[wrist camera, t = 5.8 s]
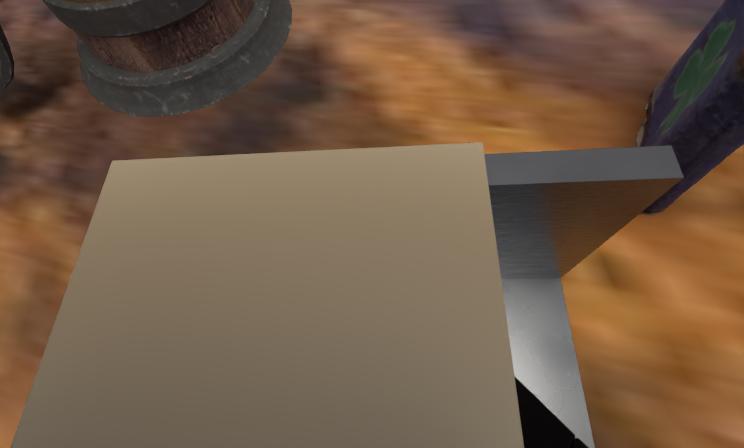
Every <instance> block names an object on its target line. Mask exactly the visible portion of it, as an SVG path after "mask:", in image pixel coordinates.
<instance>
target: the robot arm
mask: <svg viewBox="0 0 744 448" xmlns="http://www.w3.org/2000/svg"><path fill="white" fill-rule="evenodd" d="M515 384H516V391H517V398H518V406H519V413H520V420H521V428H522V435H523V442H524V448H589V447H588V446H587V445H586V444H585V443H584V442H582V441H581V440H580V439H579V438H575V434H574V433H573V432H572V431H571V430H570V429H569V428H568V427H567V426H566V425H565V424H564V423H563V422H562V421H561V420H559V419H558V418H557V417H556V416H555V415H554V414H553V413H552V412H551V411H550V410H549V409H548V408H547V407H546V406H545V405H544V404H543V403H542V402H541V401H540V400H539V399H538V398H537V397H536V396H535V395H534V394H533V393H532V392H531V391H530V390H529V389H527V388H526V387H525V386H524V385H523V384H522V383H521V382H520V381H519V380H518V379H517V378H516V377H515Z"/></svg>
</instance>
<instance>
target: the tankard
mask: <svg viewBox="0 0 744 448" xmlns="http://www.w3.org/2000/svg"><path fill="white" fill-rule="evenodd" d="M43 2H44V3H45V4H46V5H47V6H48V7H49V8H50V10H51V11H52V12H53V13H54V14H55V15H56V16H57V18H58V19H59V20H60V21H61V22H63V23H64V24H65V25H67V26H68V27H69V28H71V29H73V30H74V31H75V32H76V34H77V35H78V39H77V47H78V51H79V56H80V58H81V73H82V77H83V82H84V84H85V85H86V87H87V89H88V90H89V92H90V94H91V95H92V96H94V97H95V98H96V99H97V100H98V101H99V102H100V103H101V104H103V105H105V106H107V107H109V108H111V109H113V110H115V111H117V112H121V113H126V114H130V115H135V116H150V117H161V116H169V115H176V114H183V113H186V112H190V111H193V110H197V109H200V108H204V107H207V106H209V105H211V104H213V103H216V102H218V101H220V100H222V99H225V98H227V97H229V96H230V95H232V94H234V93H235V92H237V91H239V90H240V89H242V88H243V87H245V86H247V85H248V84H249V83H250V82H252V81H253V80H254V79H255V78H256V77H258V76H259V75H260V74H261V73H262V72H263V71H265V70H266V68H267V67H268V66H269V65H270V64H271V62H272V61H273V60H274V59H275V58H276V57H277V55H278V54H279V52H280V50H281V49H282V47H283V45H284V43H285V42H286V40H287V37H288V34H289V30H290V27H291V23H292V8H291V4H290V1H289V0H43ZM13 76H14V61H13V57H12V53H11V50H10V46H9V44H8V41H7V39H6V37H5V34H4V32H3V30H2V27H1V25H0V91H2V90H3V89H5V88H6V87H7V86H8V85H9V83H10V82H11V80H12V79H13Z"/></svg>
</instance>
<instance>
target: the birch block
mask: <svg viewBox="0 0 744 448" xmlns="http://www.w3.org/2000/svg"><path fill="white" fill-rule="evenodd" d="M10 448H524V442H523V435H522V428H521V420H520V413H519V406H518V398H517V391H516V384H515V376H514V369H513V362H512V354H511V347H510V340H509V332H508V325H507V318H506V310H505V303H504V296H503V288H502V281H501V274H500V266H499V259H498V252H497V244H496V237H495V230H494V222H493V215H492V208H491V200H490V193H489V186H488V178H487V171H486V164H485V156H484V149H483V142H479V143H459V144H439V145H419V146H399V147H379V148H359V149H339V150H319V151H299V152H279V153H259V154H239V155H219V156H199V157H179V158H159V159H139V160H119V161H112V163H111V166H110V169H109V172H108V174H107V177H106V180H105V183H104V186H103V188H102V191H101V194H100V197H99V200H98V202H97V205H96V208H95V211H94V214H93V217H92V219H91V222H90V225H89V228H88V231H87V233H86V236H85V239H84V242H83V245H82V247H81V250H80V253H79V256H78V259H77V262H76V264H75V267H74V270H73V273H72V276H71V278H70V281H69V284H68V287H67V290H66V293H65V295H64V298H63V301H62V304H61V307H60V309H59V312H58V315H57V318H56V321H55V323H54V326H53V329H52V332H51V335H50V338H49V340H48V343H47V346H46V349H45V352H44V354H43V357H42V360H41V363H40V366H39V368H38V371H37V374H36V377H35V380H34V383H33V385H32V388H31V391H30V394H29V397H28V399H27V402H26V405H25V408H24V411H23V413H22V416H21V419H20V422H19V425H18V428H17V430H16V433H15V436H14V439H13V442H12V444H11V447H10Z"/></svg>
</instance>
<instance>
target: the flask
mask: <svg viewBox="0 0 744 448" xmlns="http://www.w3.org/2000/svg"><path fill="white" fill-rule="evenodd" d="M645 109H646V110H647V109H648V111H647V116H646V119H645V122H644V123H643V125H642V126H640V131H639V132H638V133H637V138H636V141H637V142H636V143H638V144H637V146H638V147H648V146H670V145H672V148H673V151H674V153H675V156H676V158H677V161H678V164H679V166H680V169H681V171H682V174H683V176H684V178H683V179H682V180H680V181H679V182H678V183H677V184H675V185H674V186H673V187H672V188H670V189H669V190H668V191H667V192H666V193H664V194H663V195H662V196H661V197H659V198H658V199H657V200H656V201H655V202H653V203H652V204H651V205H650V206H648V207H647V208H646V209H645V210H643V211H642V212H641V213H642V214H644V215H656V214H658V213H660V212H662V211H663V210H665V208H667V207H668V206H669V205H671V204H672V203H673V202H674V201H675V200H676V199H677V198H678V197H679V196H680V195H681V194H682V193H684V192H685V191H686V190H688V189H689V188H690V187H691V186H692V185H694V184H695V183H697V182H698V181H699V180H700V179H701V178H703V177H704V176H705V175H706V174H707V173H708V172H709V171H711V170H712V169H713V168H714V167H716V166H717V165H718V164H720V163H721V162H722V161H723V160H724V159H725V158H726V157H727V156H729V155H730V154H731V153H733V152H734V151H735V150H736V149H738V148H739V147H740V146H742V145H743V144H744V0H725V1H724V3H723V4H722V5H721V7H720V8H719V9H718V11H717V12H716V13H715V15H714V16H713V17H712V18H711V20H710V21H709V22H708V24H707V25H706V26H705V27H704V29H703V30H702V31H701V32H700V34H699V35H698V36H697V38H696V39H695V40H694V42H693V43H692V44H691V45H690V47H689V48H688V49H687V50H686V52H685V53H684V54H683V55H682V56H681V58H680V59H679V60H678V62H677V63H676V64H675V65H674V67H673V68H672V69H671V70H670V71H669V73H668V74H667V75H666V77H665V78H664V80H663V81H662V82H661V83H660V84H659V85H658V86H657V87H656V88H655V90H654V91H653V94H652V97H651V98H650V100H649V102H648V103H647V104H646V107H645Z"/></svg>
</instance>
